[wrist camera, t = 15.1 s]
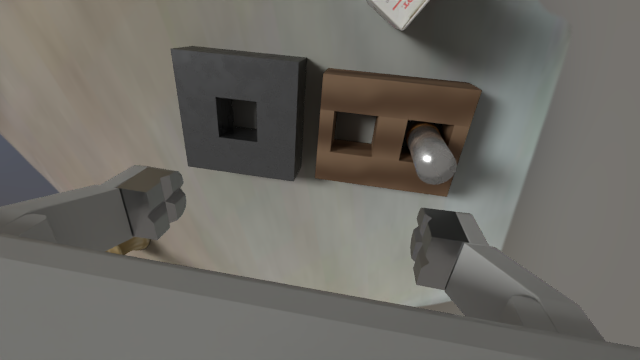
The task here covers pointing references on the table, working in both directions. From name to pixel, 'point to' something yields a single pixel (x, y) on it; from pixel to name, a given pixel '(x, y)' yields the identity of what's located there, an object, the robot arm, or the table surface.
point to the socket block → (217, 113)
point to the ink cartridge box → (398, 11)
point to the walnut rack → (389, 126)
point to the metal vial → (429, 152)
